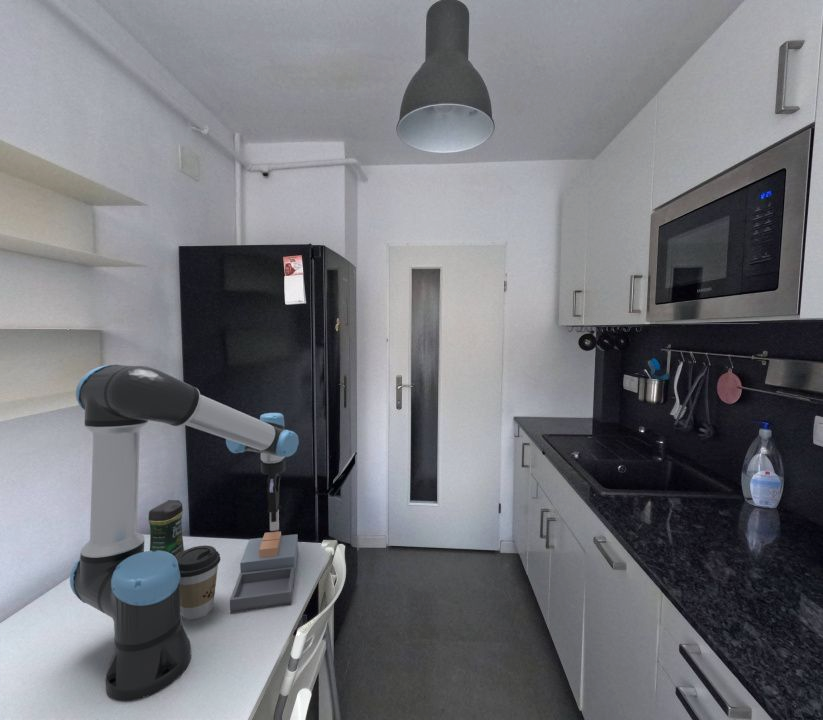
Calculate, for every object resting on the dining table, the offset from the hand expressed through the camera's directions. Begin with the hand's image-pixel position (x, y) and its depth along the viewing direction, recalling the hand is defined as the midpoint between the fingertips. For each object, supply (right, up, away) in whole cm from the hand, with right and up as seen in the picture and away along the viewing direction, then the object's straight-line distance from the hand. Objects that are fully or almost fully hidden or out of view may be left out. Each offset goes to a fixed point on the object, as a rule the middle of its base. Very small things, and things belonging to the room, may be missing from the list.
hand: (274, 529), depth 131 cm
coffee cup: (-10, -9, -29) cm, 32 cm away
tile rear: (+2, -1, -7) cm, 7 cm away
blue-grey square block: (+2, -8, -9) cm, 12 cm away
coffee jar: (-32, -8, -5) cm, 34 cm away
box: (+5, -8, -23) cm, 25 cm away
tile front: (+3, -2, -12) cm, 13 cm away
